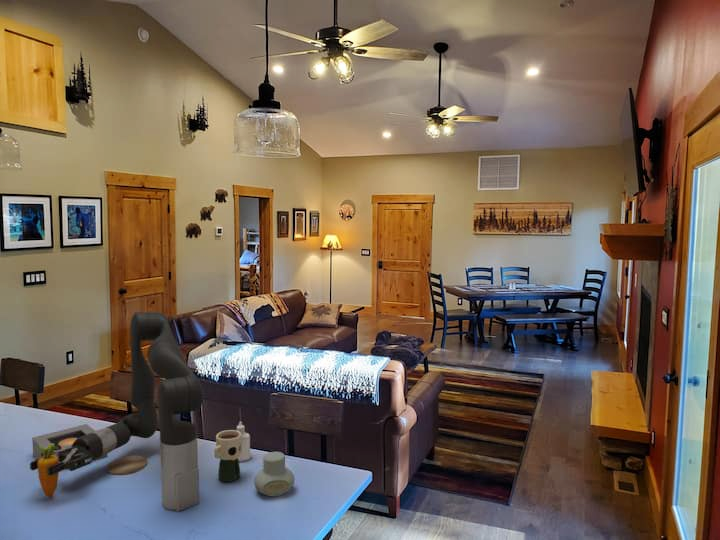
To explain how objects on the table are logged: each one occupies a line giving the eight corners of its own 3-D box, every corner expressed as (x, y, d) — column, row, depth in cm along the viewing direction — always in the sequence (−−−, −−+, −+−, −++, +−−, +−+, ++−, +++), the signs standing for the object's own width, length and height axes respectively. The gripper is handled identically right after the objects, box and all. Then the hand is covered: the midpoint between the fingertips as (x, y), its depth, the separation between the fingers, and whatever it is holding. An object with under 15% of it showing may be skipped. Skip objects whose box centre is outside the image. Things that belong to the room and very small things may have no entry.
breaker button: (83, 447, 165) (82, 441, 165) (62, 453, 161) (61, 447, 160) (76, 442, 169) (76, 436, 169) (56, 447, 165) (55, 441, 165)
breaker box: (107, 456, 164) (106, 439, 164) (49, 473, 153) (49, 455, 153) (87, 440, 177) (86, 424, 177) (33, 454, 166) (32, 437, 165)
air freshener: (255, 501, 139) (255, 464, 138) (253, 485, 147) (252, 451, 146) (296, 495, 142) (296, 460, 141) (292, 481, 150) (291, 447, 149)
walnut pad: (153, 466, 158) (153, 463, 158) (115, 478, 150) (115, 476, 150) (138, 454, 166) (138, 452, 166) (101, 466, 158) (101, 463, 158)
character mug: (225, 489, 145) (224, 444, 144) (206, 482, 148) (205, 438, 147) (251, 473, 154) (251, 430, 153) (233, 467, 158) (232, 425, 157)
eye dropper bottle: (245, 463, 160) (244, 425, 159) (229, 461, 162) (228, 423, 161) (252, 457, 165) (252, 420, 164) (236, 455, 166) (236, 418, 165)
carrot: (34, 500, 139) (32, 445, 137) (53, 491, 143) (50, 438, 142) (46, 504, 136) (43, 449, 135) (64, 496, 141) (62, 442, 140)
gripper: (77, 428, 155) (21, 450, 139) (112, 436, 149) (57, 460, 134) (78, 452, 155) (22, 477, 140) (113, 462, 149) (58, 489, 134)
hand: (39, 469), depth 137 cm, fingers open, 6 cm apart
